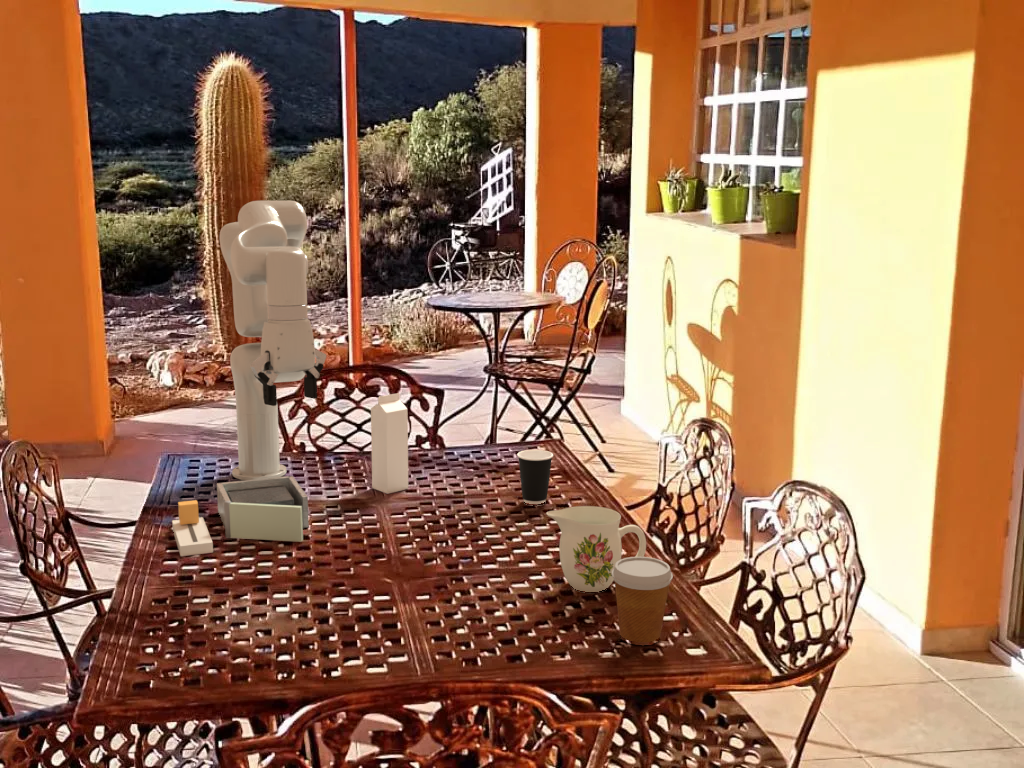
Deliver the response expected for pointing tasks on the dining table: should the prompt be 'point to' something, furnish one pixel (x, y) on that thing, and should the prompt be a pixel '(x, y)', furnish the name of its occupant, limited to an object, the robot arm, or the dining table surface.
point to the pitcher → (591, 545)
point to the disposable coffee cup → (641, 596)
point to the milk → (389, 444)
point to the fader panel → (192, 538)
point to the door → (263, 521)
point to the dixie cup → (534, 475)
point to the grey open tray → (263, 494)
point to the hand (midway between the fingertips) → (291, 401)
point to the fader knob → (188, 512)
